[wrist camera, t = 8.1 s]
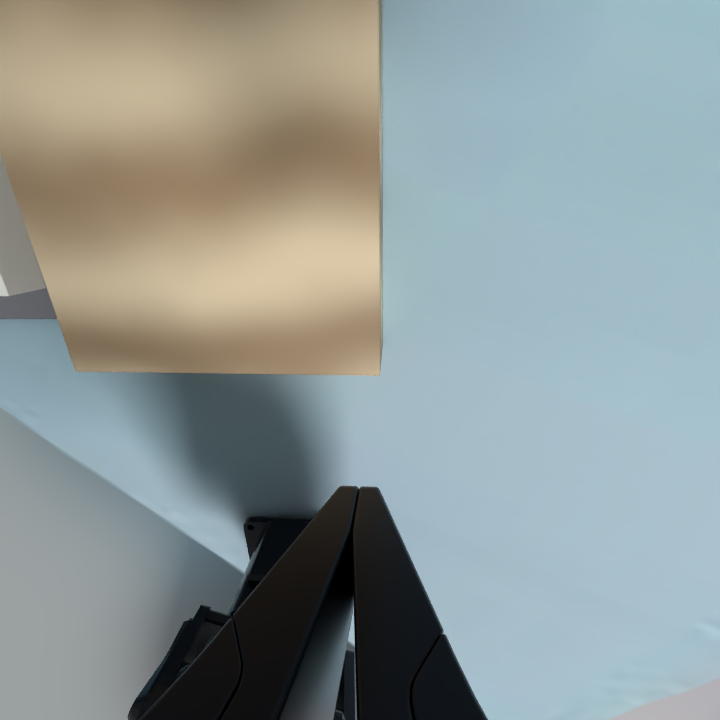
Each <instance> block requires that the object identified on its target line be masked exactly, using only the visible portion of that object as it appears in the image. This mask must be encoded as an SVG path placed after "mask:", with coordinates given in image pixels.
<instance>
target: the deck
mask: <svg viewBox="0 0 720 720" xmlns="http://www.w3.org/2000/svg"><path fill="white" fill-rule="evenodd" d="M0 154H1V157H2V160H3V162H4V165H5V168H6V171H7V174H8V177H9V180H10V183H11V186H12V189H13V191H14V194H15V197H16V200H17V203H18V206H19V209H20V212H21V215H22V217H23V220H24V223H25V226H26V229H27V232H28V235H29V238H30V241H31V244H32V246H33V249H34V252H35V255H36V258H37V261H38V264H39V267H40V270H41V272H42V275H43V278H44V281H45V284H46V287H47V290H48V293H49V296H50V299H51V301H52V304H53V307H54V310H55V313H56V316H57V319H58V322H59V325H60V327H61V330H62V333H63V336H64V339H65V342H66V345H67V348H68V351H69V354H70V356H71V359H72V362H73V365H74V368H75V371H79V372H153V373H227V374H300V375H374V376H380V369H381V358H382V347H383V217H382V0H0Z"/></svg>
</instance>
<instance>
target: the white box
mask: <svg viewBox="0 0 720 720" xmlns="http://www.w3.org/2000/svg"><path fill="white" fill-rule="evenodd" d="M45 288H46V287H45V284H44V281H43V278H42V275H41V272H40V269H39V266H38V262H37V259H36V256H35V253H34V250H33V247H32V244H31V241H30V238H29V235H28V232H27V229H26V226H25V223H24V220H23V217H22V215H21V212H20V209H19V206H18V203H17V200H16V197H15V194H14V191H13V189H12V186H11V183H10V180H9V177H8V174H7V171H6V168H5V165H4V162H3V160H2V157H1V154H0V296H12V295H17V294H22V293H26V292H31V291H35V290H40V289H45Z"/></svg>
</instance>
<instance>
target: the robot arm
mask: <svg viewBox="0 0 720 720" xmlns="http://www.w3.org/2000/svg"><path fill="white" fill-rule="evenodd" d="M252 525H253V526H252ZM244 532H245V537H246V542H247V547H248V553H249V558H250V562H249V564H248V567H247V569H246V571H245V574H244V576H243V579H242V581H241V583H240V586H239V588H238V591H237V593H236V595H235V598H234V600H233V603H232V605H231V608H230V610H229V612H228V615H227V614H224V613H221V612H218V611H215V610H211V607H208V606H205V605H201V606H200V608H199V610H198V611H197V613H196V615H195V617H194V618H193V619H192V618H190V620H188V621H185V622H184V623H183V625H182V627H181V628H180V630H179V632H178V634H177V636H176V638H175V640H174V642H173V644H172V646H171V648H170V650H169V651H168V653H167V655H166V656H165V658H164V660H163V661H162V662H161V664H160V665H159V667H158V668H157V670H156V671H155V672H154V674H153V675H152V677H151V678H150V679H149V681H148V682H147V684H146V685H145V687H144V688H143V690H142V691H141V692H140V694H139V695H138V697H137V698H136V699H135V701H134V703H133V705H132V707H131V709H130V711H129V714H128V720H355V690H354V689H355V687H354V652H353V651H350V650H347V649H346V647H347V641H348V636H349V630H350V625H351V619H352V614H353V607H354V627H355V657H356V693H357V720H488V719H487V717H486V715H485V714H484V712H483V710H482V708H481V706H480V704H479V703H478V701H477V699H476V697H475V695H474V693H473V691H472V689H471V687H470V685H469V683H468V681H467V679H466V677H465V675H464V673H463V671H462V669H461V667H460V665H459V662H458V660H457V658H456V656H455V654H454V652H453V650H452V647H451V645H450V643H449V641H448V639H447V636H446V635H445V634H443V628H442V626H441V624H440V622H439V619H438V617H437V615H436V613H435V611H434V608H433V606H432V604H431V602H430V600H429V597H428V595H427V593H426V591H425V589H424V586H423V584H422V582H421V580H420V578H419V575H418V573H417V571H416V569H415V567H414V564H413V562H412V560H411V558H410V556H409V553H408V551H407V549H406V547H405V545H404V542H403V540H402V538H401V536H400V534H399V531H398V529H397V527H396V525H395V523H394V520H393V518H392V516H391V514H390V512H389V509H388V507H387V505H386V503H385V501H384V498H383V496H382V494H381V492H380V490H379V488H377V487H364V486H363V487H360V489H359V488H358V487H357V486H340V487H339V488H338V489H337V490H336V491H335V493H334V494H333V495H332V496H331V497H330V499H329V500H328V501H327V502H326V503H325V505H324V506H323V507H322V508H321V510H320V511H319V512H318V513H317V514H316V516H315V517H314V518H313V519H312V520H297V519H278V518H258V517H249V518H248V519H247V520H246V522H245V524H244Z"/></svg>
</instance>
